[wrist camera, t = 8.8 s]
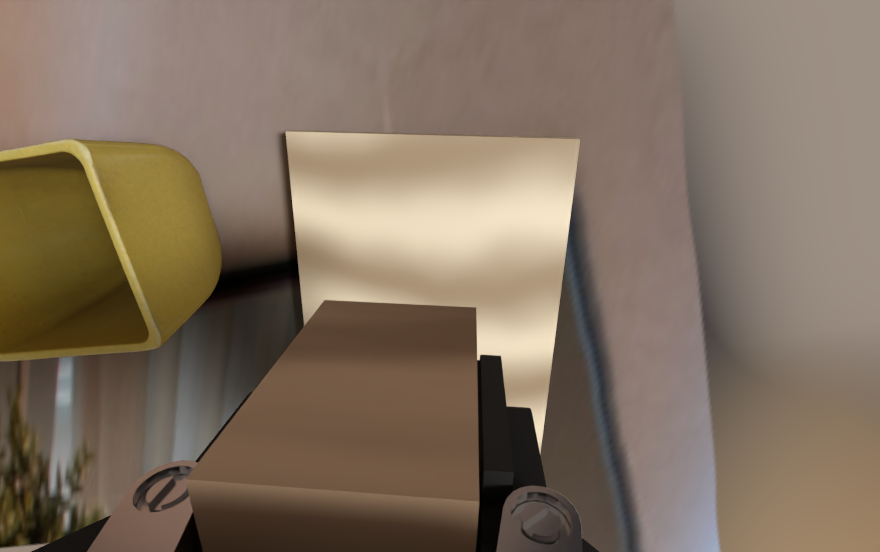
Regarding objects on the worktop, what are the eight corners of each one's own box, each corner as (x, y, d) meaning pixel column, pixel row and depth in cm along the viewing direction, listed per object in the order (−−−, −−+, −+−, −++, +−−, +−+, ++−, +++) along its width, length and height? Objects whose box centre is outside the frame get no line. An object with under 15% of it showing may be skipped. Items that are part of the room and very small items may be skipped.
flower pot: (131, 290, 28) (-17, 365, 20) (75, 149, 25) (-126, 167, 17) (260, 277, 27) (163, 350, 19) (218, 129, 24) (80, 136, 16)
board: (294, 130, 24) (285, 131, 23) (574, 137, 23) (580, 139, 22) (328, 515, 33) (323, 529, 32) (526, 532, 32) (528, 547, 31)
